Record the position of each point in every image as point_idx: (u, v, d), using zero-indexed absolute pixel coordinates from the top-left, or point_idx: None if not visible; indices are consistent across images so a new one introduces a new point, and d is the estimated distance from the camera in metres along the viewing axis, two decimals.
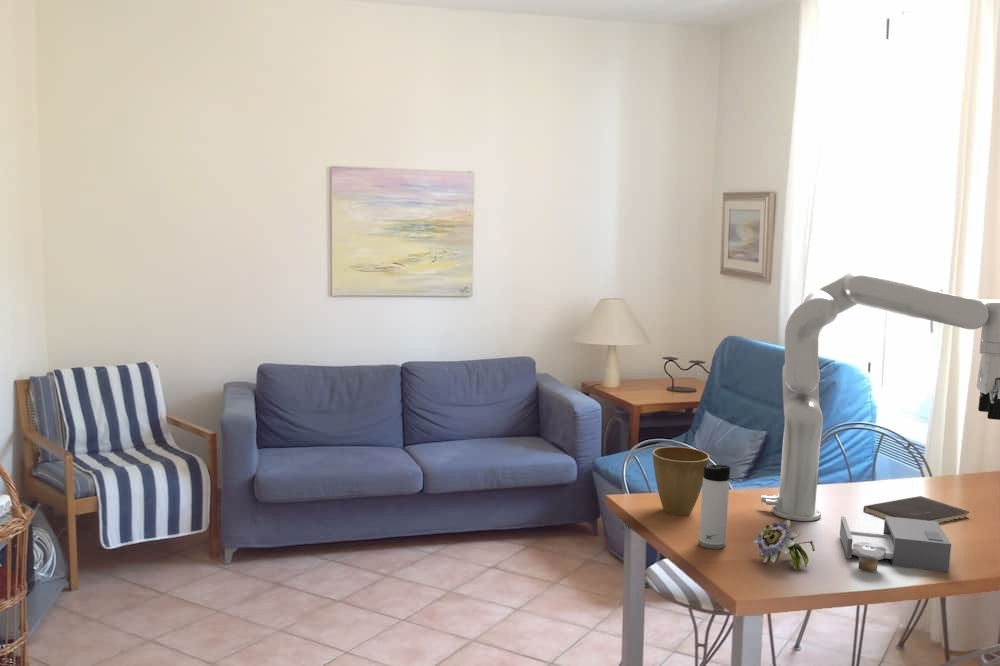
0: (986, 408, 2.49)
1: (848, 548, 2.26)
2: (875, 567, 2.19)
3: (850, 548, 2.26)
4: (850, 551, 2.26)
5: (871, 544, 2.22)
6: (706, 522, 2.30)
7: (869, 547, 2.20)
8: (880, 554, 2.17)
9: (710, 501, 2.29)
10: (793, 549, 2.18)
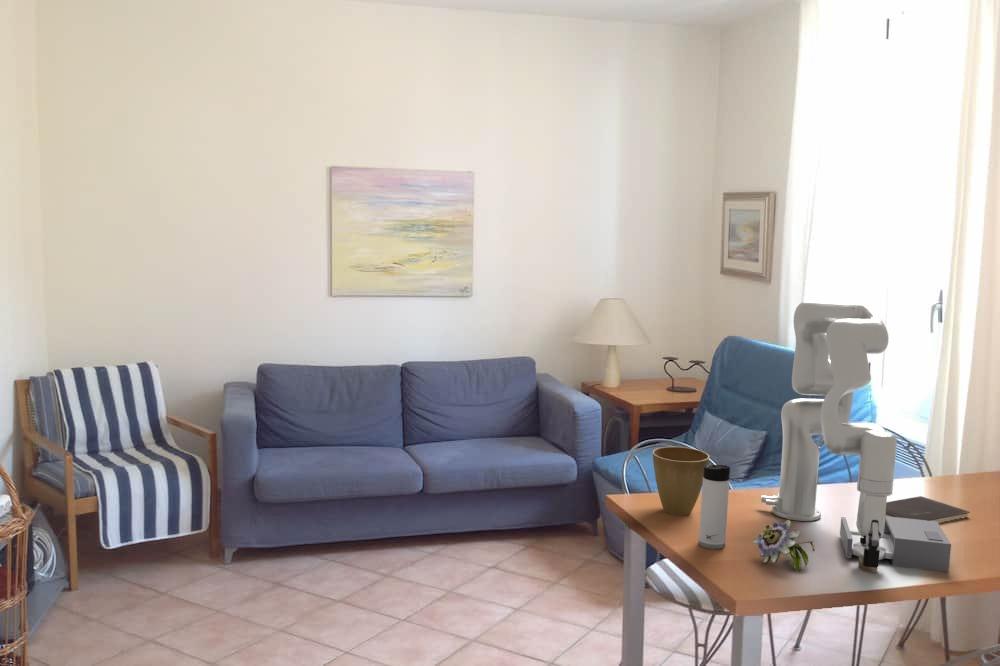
0: None
1: (848, 548, 2.26)
2: None
3: (850, 548, 2.26)
4: (850, 551, 2.26)
5: None
6: (706, 522, 2.30)
7: None
8: (880, 554, 2.17)
9: (710, 501, 2.29)
10: (793, 549, 2.18)
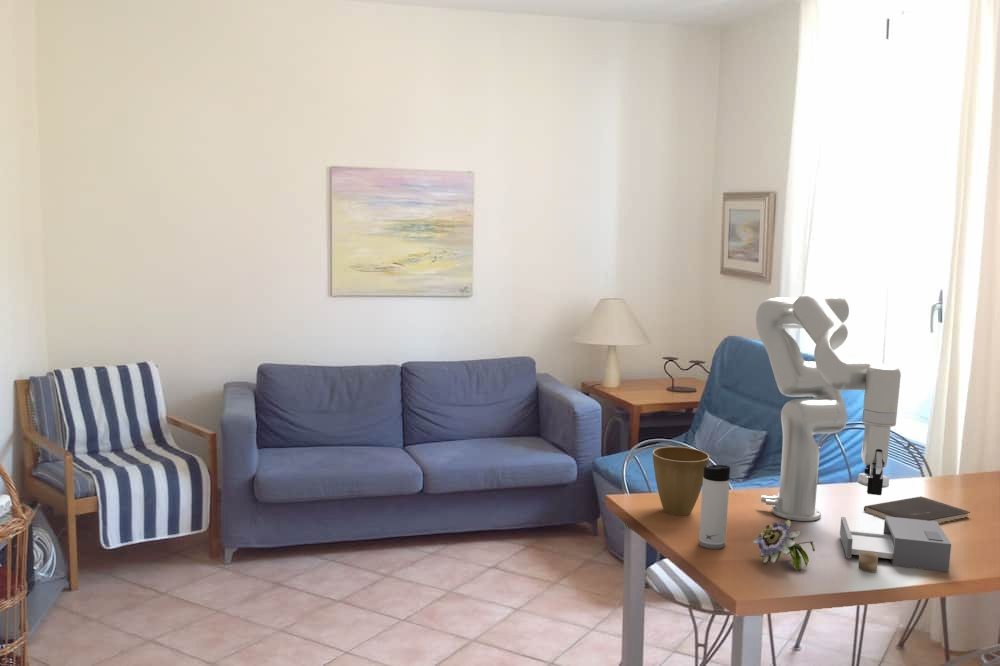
0: None
1: (848, 548, 2.26)
2: (875, 567, 2.19)
3: (850, 548, 2.26)
4: (850, 551, 2.26)
5: None
6: (706, 522, 2.30)
7: None
8: (883, 482, 2.27)
9: (710, 501, 2.29)
10: (793, 549, 2.18)
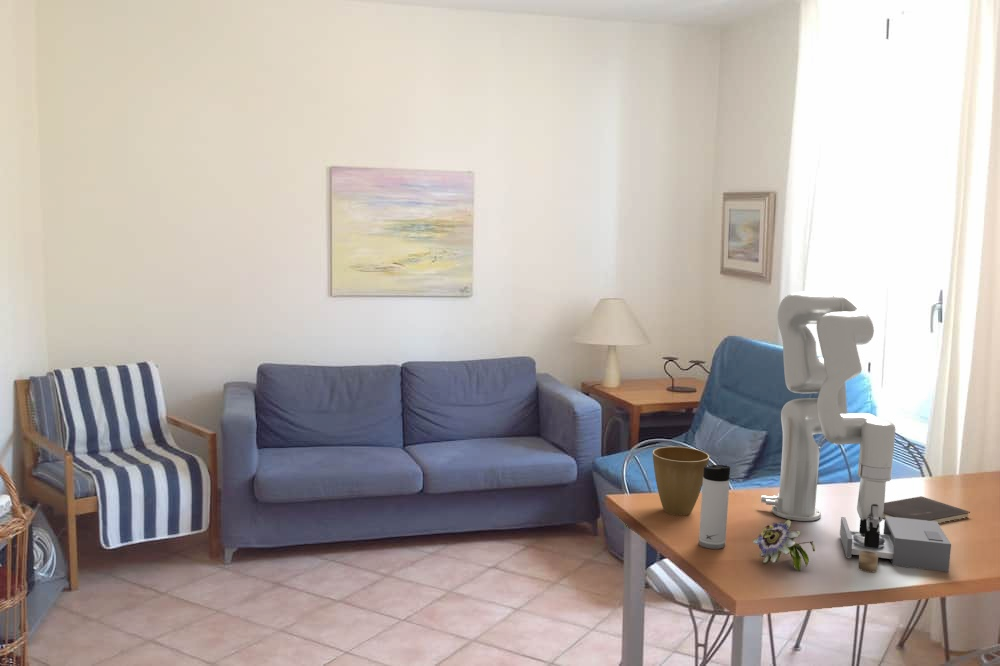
0: None
1: (848, 548, 2.26)
2: (875, 567, 2.19)
3: (850, 548, 2.26)
4: (850, 551, 2.26)
5: None
6: (706, 522, 2.30)
7: None
8: (879, 544, 2.29)
9: (710, 501, 2.29)
10: (793, 549, 2.18)
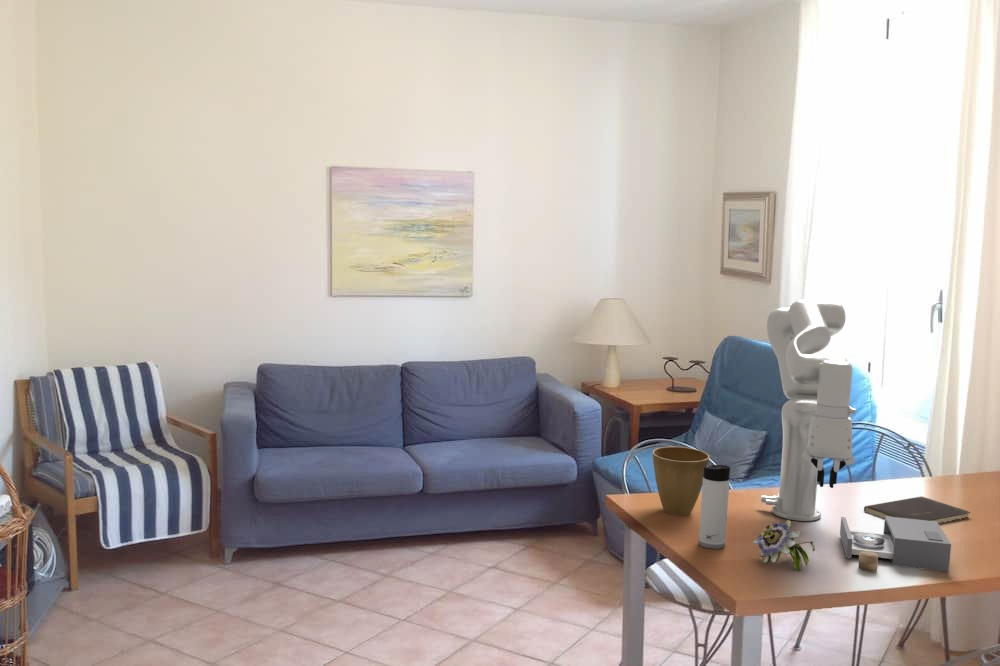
0: (829, 482, 2.33)
1: (848, 548, 2.26)
2: (875, 567, 2.19)
3: (850, 548, 2.26)
4: (850, 551, 2.26)
5: (870, 534, 2.35)
6: (706, 522, 2.30)
7: (868, 537, 2.32)
8: (878, 544, 2.29)
9: (710, 501, 2.29)
10: (793, 549, 2.18)
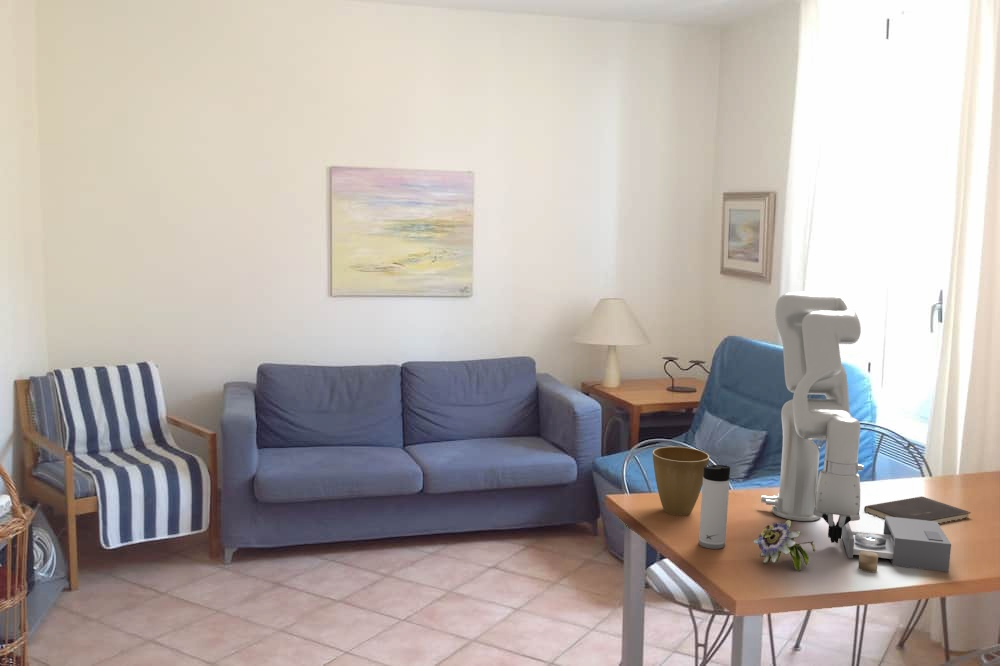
0: None
1: (850, 548, 2.26)
2: (875, 567, 2.19)
3: (852, 548, 2.26)
4: (852, 551, 2.26)
5: (872, 535, 2.35)
6: (706, 522, 2.30)
7: (870, 537, 2.32)
8: (880, 544, 2.29)
9: (710, 501, 2.29)
10: (794, 549, 2.18)
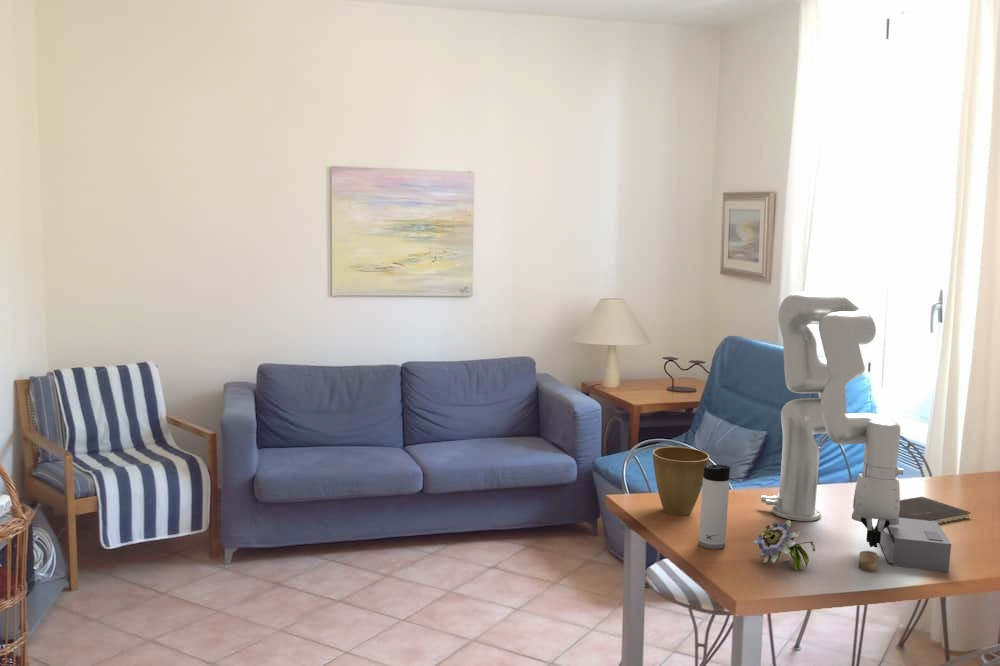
0: None
1: (890, 553, 2.24)
2: (875, 567, 2.19)
3: (892, 553, 2.23)
4: (892, 556, 2.24)
5: None
6: (706, 522, 2.30)
7: None
8: None
9: (710, 501, 2.29)
10: (794, 549, 2.18)
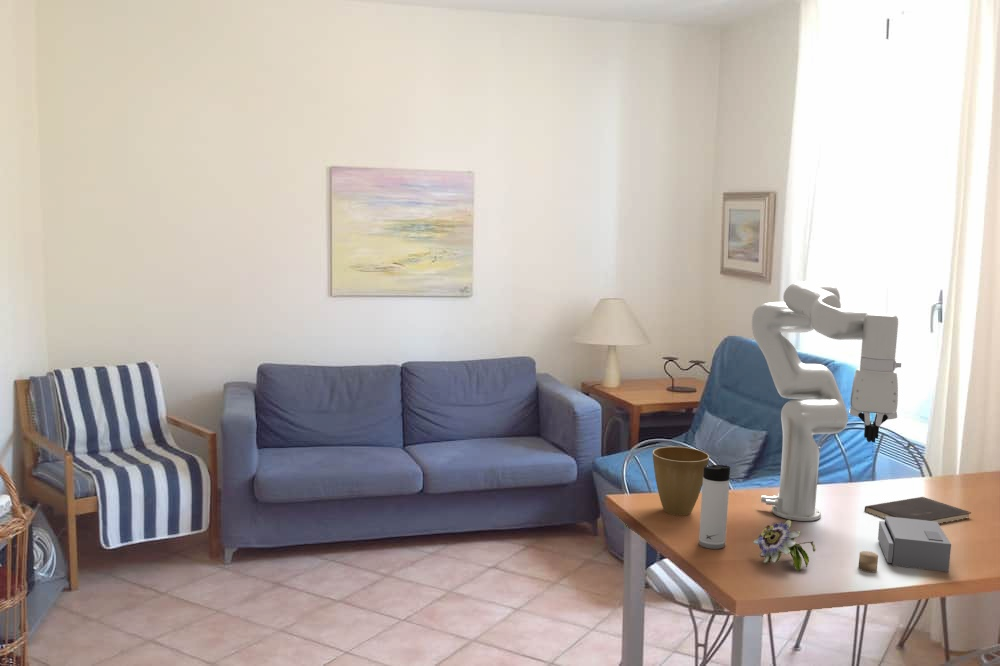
0: (871, 437, 2.30)
1: (889, 553, 2.24)
2: (875, 567, 2.19)
3: (891, 553, 2.23)
4: (891, 556, 2.24)
5: None
6: (706, 522, 2.30)
7: None
8: None
9: (710, 501, 2.29)
10: (794, 549, 2.18)
